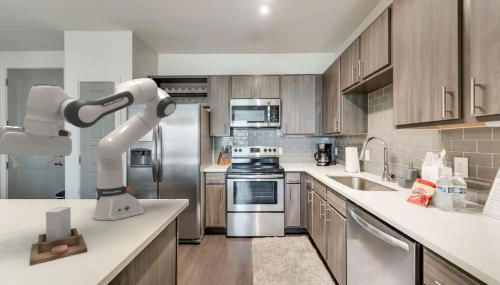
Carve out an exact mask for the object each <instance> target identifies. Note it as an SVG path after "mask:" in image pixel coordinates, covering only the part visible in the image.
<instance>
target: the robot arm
mask: <svg viewBox="0 0 500 285" xmlns="http://www.w3.org/2000/svg"><path fill="white" fill-rule="evenodd" d="M140 104H145V105H146V106H145V108H144V109H142V110H140V111H138V112H137V113H136V114H134V115H133V116H131V117H130V118H128V119H127V120H126V121H125V122H123V123H122V124H121V125H119V126H118V127H116V128H115V129H114V130H112V131H111V132H110V133H108V134H107V135H105V136H104V137H103V138H101V139H100V140H99V142H98V143H97V144H96V155H97V156H96V162H97V163H96V166H97V167H96V173H97V174H96V177H97V178H96V181H97V182H96V183H97V184H96V185H97V186H96V190H95V199H96V205H95V209H94V210H95V211H94V214H93V219H94V220H96V221H97V220H99V221H116V220H121V219H125V218H129V217H134V216H137V215H141V214H143V215H144V214H145V212H146V209H145V208H144V207H142V206H141V204H140V201H139V199H138V198H136V197H135V196H133V195H131V194H130V193H129V192H130V190H131V187H129V186H125V185H124V167H123V155H124V154H125V152H127V151H128V150H129V149H131V147H133V146H134V145H135V144H136V143H137V142H138V141H140V140H141V139H142V138H144V136H146V135H147V134H148V133H150V132H151V131H152V130H154V129H155V127H156V126H157V125H159V123H160V122H161V121H162V120H163V119H164V118H166V117H167V118H168V117H169V116H171V115H173V113H175V111H176V109H177V102H176V100H175V99H174V98H173V97H172V96H170V95H169V93H167V92H166V91H165V90H163V89H161V88H160V87H158V85H157V82H156V81H155V80H153V79H152V78H149V77H145V78H144V77H143V78H135V79H130V80H126V81H124V82H123V81H122V82H120V83H118V84H117V85H115V87H114V89H113V94H111V95H108V96H105V97H102V98H99V99H96V100H88V99H79V98H76V97H74V96H73V95H72V94H70V93H68V92H66V91H65V90H63V88H62V87H61V86H60V85H57V84H50V83H49V84H48V83H36V84H34V85H32V87H31V88H30V90H29V93H28V97H27V101H26V109H27V111H26V114H25V116H24V120H23V121H24V122H23V126H22V127H21V126H11V125H5V126H1V127H0V155H9V157H10V158H9V159H11V161H12V167H13V168H14V169H15V168H16V169H18V168H21V161H18V160H17V158H18V156H50V157H51V156H52V159H51V160H50V161H47V165H46V166H47V168H54V167H55V164H56V163H57V161H58V160H59V159H60V157H64V156H65V157H69V156H70V155H71V154H72V151H73V141H72V138H71V136H72V132H71V131H69V130H67V129H65V128H63V127H61V126H58V121H63V122H65V123H68V124H71V125H73V126H74V127H76V128H80V129H87V128H90V127H92V126H94V125H95V124H97V123H98V122H99V121H100V120H101V119H102V118H105V117H106V116H108V115H111V114H113V113H116V112H118V111H121V110H123V109H126V108H129V107H133V106H138V105H140Z"/></svg>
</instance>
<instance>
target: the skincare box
mask: <svg viewBox="0 0 500 285" xmlns="http://www.w3.org/2000/svg"><path fill="white" fill-rule="evenodd" d="M71 213H72V212H71V206H58V207H55V208H53V209H50V210H47V211H45V223H46V224H45V226H46V227H45V231H46V232H45V233H46V242H48V241H53V240H58V239H62V238H67V237H71V229H72V228H71V223H72V218H71Z"/></svg>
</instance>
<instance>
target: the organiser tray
mask: <svg viewBox="0 0 500 285" xmlns="http://www.w3.org/2000/svg"><path fill="white" fill-rule="evenodd" d="M37 239H38V241H37V242H36V243H32V244H31V248H30V255H29V256H30V257H29V266H35V265H38V264H39V265H40V264H43V263H47V262H51V261H54V260H59V259H62V258H63V259H64V258H67V256H68V257H71V255H72V256H75V255H79V254H84V253H88V246H87V244H86V241H85V239H84V237H83V235H82V234H80V233H79V232H78V229H77V227H73V228H71V237H67V238H62V239H58V240H53V241H48V242H46V232H45V233H40V234H38V238H37Z"/></svg>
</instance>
